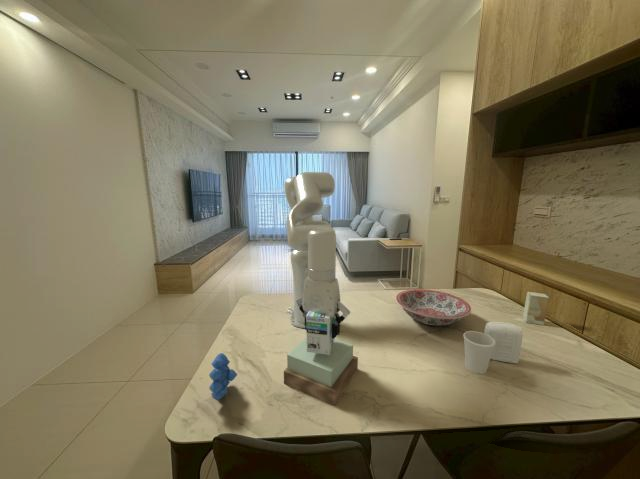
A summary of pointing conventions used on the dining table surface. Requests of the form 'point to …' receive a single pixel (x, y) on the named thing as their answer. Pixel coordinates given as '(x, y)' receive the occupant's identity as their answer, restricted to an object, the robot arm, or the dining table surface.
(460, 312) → the ceramic bowl
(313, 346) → the light bulb box
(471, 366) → the dixie cup
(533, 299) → the skincare box
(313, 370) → the tower top block
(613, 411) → the dining table surface
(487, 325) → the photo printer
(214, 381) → the grapes
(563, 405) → the dining table surface
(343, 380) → the tower base block
